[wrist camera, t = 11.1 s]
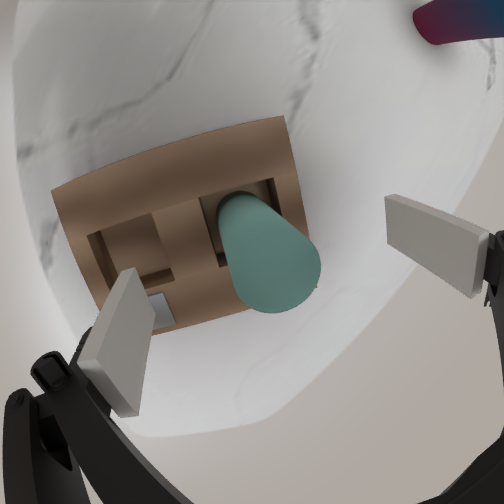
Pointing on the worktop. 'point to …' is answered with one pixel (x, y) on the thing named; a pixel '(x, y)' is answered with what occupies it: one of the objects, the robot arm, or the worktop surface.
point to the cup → (460, 20)
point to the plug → (265, 254)
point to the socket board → (177, 217)
